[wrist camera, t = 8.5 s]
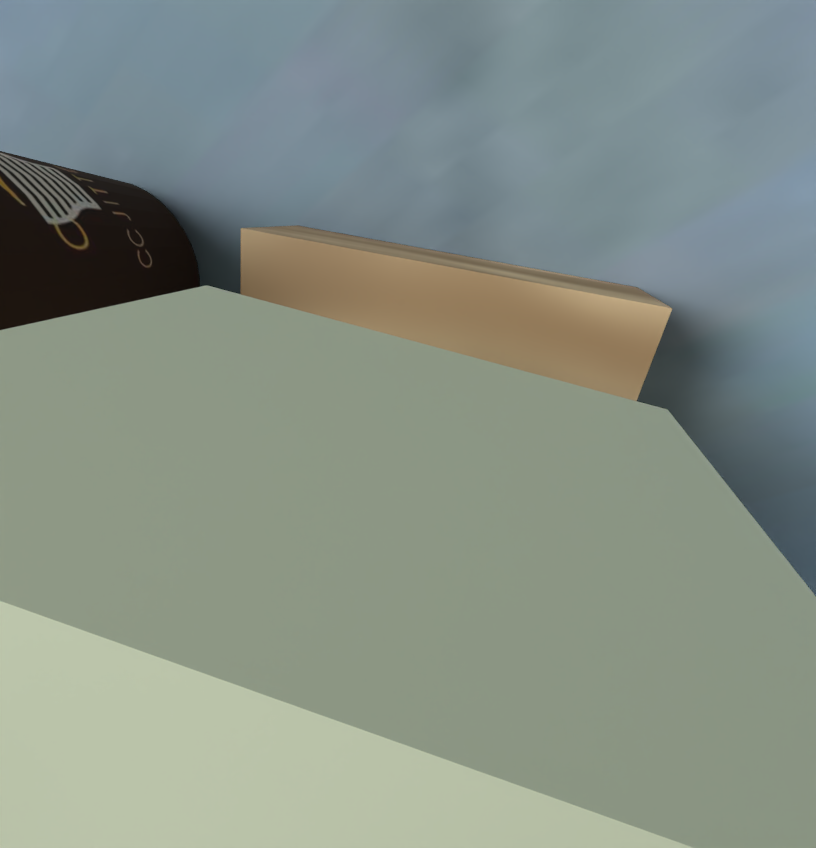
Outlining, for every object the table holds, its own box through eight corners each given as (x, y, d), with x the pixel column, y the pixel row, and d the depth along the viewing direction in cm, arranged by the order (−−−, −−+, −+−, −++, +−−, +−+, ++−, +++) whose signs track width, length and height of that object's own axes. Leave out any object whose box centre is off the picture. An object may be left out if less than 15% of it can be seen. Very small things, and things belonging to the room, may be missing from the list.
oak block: (297, 225, 17) (241, 228, 14) (637, 287, 16) (672, 308, 12) (281, 549, 24) (239, 608, 20) (522, 614, 22) (524, 691, 19)
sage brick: (206, 285, 10) (-472, 432, 3) (667, 409, 10) (1139, 1006, 2) (194, 674, 16) (-68, 1048, 9) (485, 778, 15) (457, 1293, 8)
